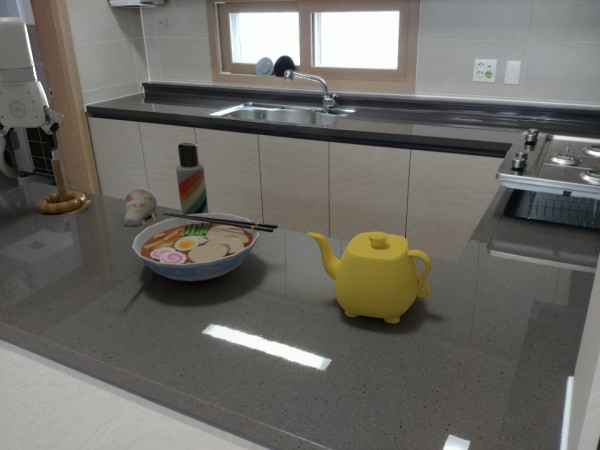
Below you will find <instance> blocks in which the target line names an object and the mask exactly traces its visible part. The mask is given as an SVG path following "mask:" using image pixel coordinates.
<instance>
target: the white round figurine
mask: <svg viewBox="0 0 600 450" xmlns="http://www.w3.org/2000/svg"><path fill="white" fill-rule="evenodd" d="M157 203H158V202H157V199H156V197H155V196H154V195H153V193H152V192H150V191H148V190H145V189H137V188H136V189H133V190H131V191H129V193H128V194H127V195H126V197H125V199H124V211H125V214H124V217H123V224H124V225H125V226H126V227H138V226H141V225H147V223H146V219H149V217H151V219H152V220H153V221H155V220H156V209H157Z"/></svg>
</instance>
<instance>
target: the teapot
mask: <svg viewBox="0 0 600 450" xmlns="http://www.w3.org/2000/svg"><path fill="white" fill-rule="evenodd" d="M307 235H308V236H310V237H311V238H312V239H313V240H315V242H316V243H317V245H318V247H319V251H320V255H321V262H322V266H323V270H324V271H325V273H326V274H327V275H328V277H329V278H331V279H332V280H334V296H335V300H336V301H337V304H339V306H340V307H341V309H343V310H344V314H345V316H347V317H349V318H357V317H359V316H365V317H369V318H379V319H383V321H384V322H386V323H388V324H397V323H399V322H400V321H401V318H400V317H401V316H402V315H404V314H405V313H406V312H407V311H408V310H409V308H410V307H412V305H413V303H414V302H415V301H416V299H417V297H418V298H420V299H425V298H428V297H430V296H431V294H432V292H433V291H432V287H431V285H430V284H429V283H426V280H427V279H428V276H429V275H430V273H431V270H432V260H431V257H430V256H429V255H428V254H427V253H425V252H424V251H422V250H419V249H412V247H411V245H410V243H409V241H408V239H407V238H405V237H404V236H402V235H400V234H399V235H398V234H392V233H386V232H384V231H368V232H367V231H366V232H361V233H358V234H357V235H355V236H353V238H352V239H350V241H349V242H348V243H347V246H346V247H345V250H344V252H343V253H342V255H341V258H340V259H338V258H337V257H336V256H335V255H334V254H333V252H332V249H331V245H330V243H329V240H328V239H327V238H326V237H325V235H323V234H322V233H318V232H314V231H308V232H307ZM416 258H418V259H420V260H421V261H422V262H423V263H424V269H423V271H422V274H421V275H420V276H419V269H418V265H417V262H416ZM422 289H425V290H422Z"/></svg>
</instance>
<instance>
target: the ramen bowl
mask: <svg viewBox="0 0 600 450" xmlns="http://www.w3.org/2000/svg"><path fill="white" fill-rule="evenodd" d="M161 215H162V216H167V217H171V218H168V219H164V220H161V221H159V222H157V223H154V224H152V225H150V226H148V227H146V228H145V229H143V230H142V231H141V232H140V233H138V234H137V235H136V236H135V237H134V240H133V243H132V246H131V248H132V249H133V251H134V252H135V253H136V255H137V256H138V257H139V259H140V260H141V261H142V262H143V263H144V265H146V266H147V267H148V268H149V269H150V270H151V271H153V272H154V273H156V274H158V275H160V276H163V277H165V278H168V279H171V280H175V281H182V282H197V281H198V282H199V281H208V280H211V279H215V278H217V277H221V276H224V275H225V274H227V273H229V272H231V271H232V270H234V269H237V268H238V267H240V266H241V265H242V263H244V261H245V260H246V259H247V257H248V256H249V254H250V253H251V251H252V250H253V248H254V246H255V245H256V243H257V241H258V239H259V236H260V233H259V232H266V233H270V234H271V233H273V232H274V230H277V229H278V227H279V226H278V224H275V223H265V222H256V221H255V222H254V221H251V220H250V219H248V218H247V217H242V216H239V215H236V214H231V213H221V212H220V213H217V212H209V213H202V214H190V215H182V214H179V213H170V212H169V213H168V212H164V213H162V214H161Z"/></svg>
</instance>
